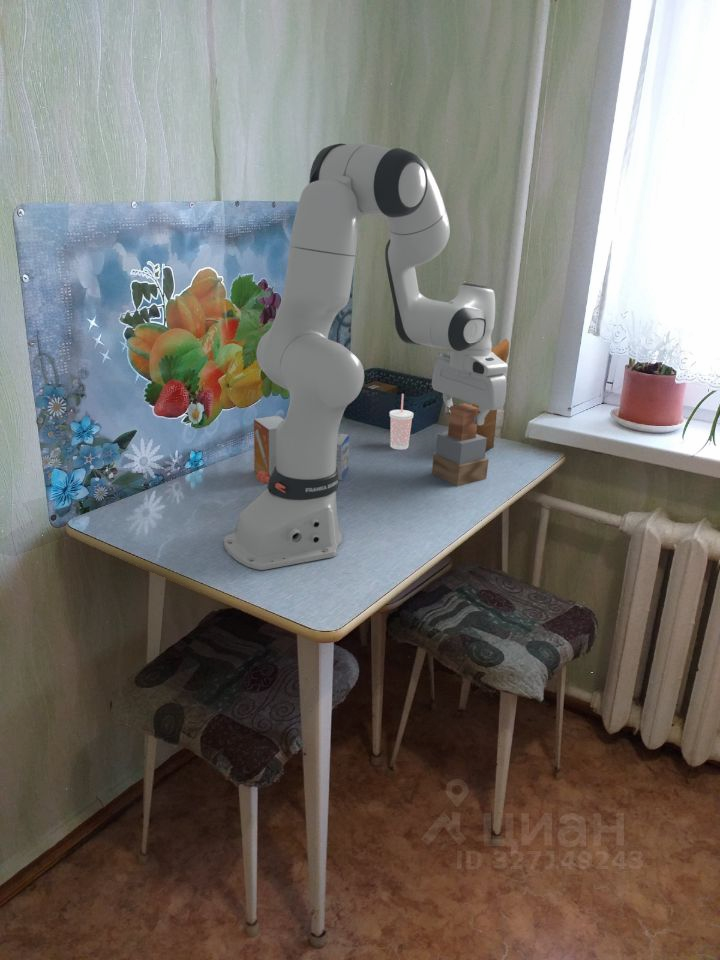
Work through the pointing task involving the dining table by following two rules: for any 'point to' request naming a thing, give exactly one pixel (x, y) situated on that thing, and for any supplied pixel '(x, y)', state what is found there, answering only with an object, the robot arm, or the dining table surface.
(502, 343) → the pancake mix bag
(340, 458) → the medicine box
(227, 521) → the dining table surface
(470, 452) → the tower top
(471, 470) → the tower base
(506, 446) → the dining table surface
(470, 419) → the cherry block
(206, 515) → the dining table surface
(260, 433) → the small box
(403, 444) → the beverage cup
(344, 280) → the robot arm
